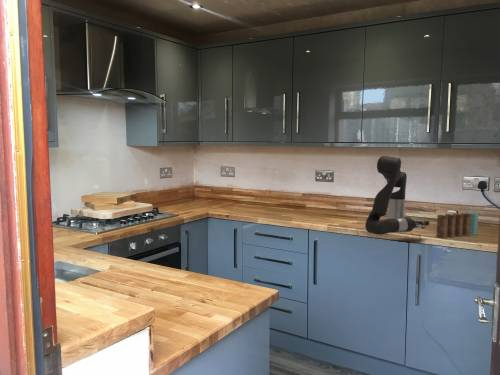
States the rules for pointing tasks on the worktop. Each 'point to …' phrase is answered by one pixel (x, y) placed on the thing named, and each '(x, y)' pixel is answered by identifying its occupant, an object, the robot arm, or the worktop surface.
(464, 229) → the domino
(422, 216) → the worktop surface
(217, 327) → the worktop surface
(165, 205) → the worktop surface
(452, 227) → the domino
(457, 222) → the domino
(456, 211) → the medicine bottle
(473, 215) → the domino
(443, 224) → the domino
